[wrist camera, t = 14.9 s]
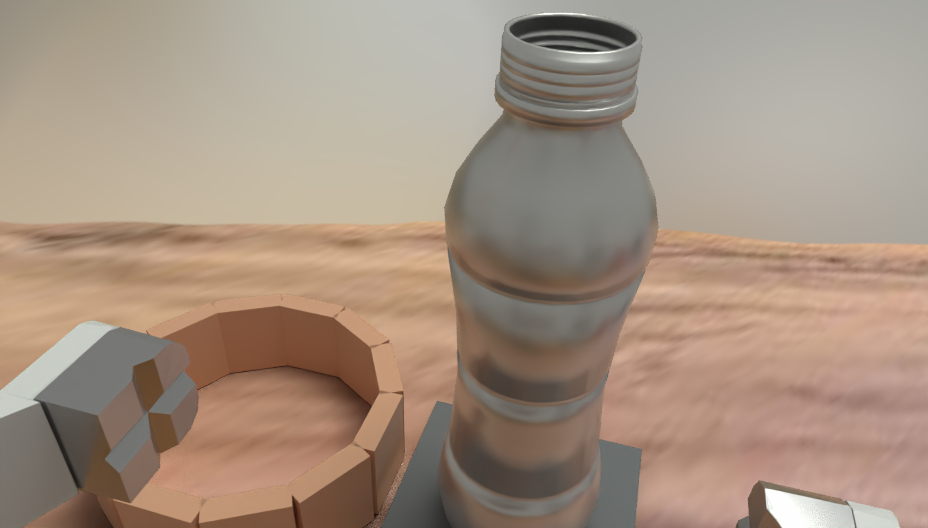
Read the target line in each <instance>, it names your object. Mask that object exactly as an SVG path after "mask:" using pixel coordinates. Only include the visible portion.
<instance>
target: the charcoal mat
mask: <svg viewBox="0 0 928 528" xmlns="http://www.w3.org/2000/svg"><path fill="white" fill-rule="evenodd" d="M452 406H453V405H452V404H448V403H444V402H439V401H437V402H436V404H435V407H434V409H433V411H432V414H431V416H430V418H429V420H428V423H427V425H426V427H425V429H424V432H423V434H422V436H421V438H420V441H419V443H418V445H417V448H416V450H415V452H414V454H413V457H412V459H411V461H410V463H409V466H408V468H407V470H406V472H405V475H404V477H403V479H402V482H401V484H400V486H399V488H398V491H397V493H396V495H395V497H394V500H393V502H392V504H391V507H390V509H389V511H388V513H387V516H386V518H385V520H384V522H383V525H382V527H381V528H452V527H451V525H450V523H449V522H448V520H447V518H446V514H445V511H444V507H443V503H442V499H441V494H440V490H439V486H438V466H439V461H440V456H441V451H442V446H443V442H444V437H445V434H446V431H447V428H448V425H449V423H450V420H451V413H452ZM599 446H600V460H601V476H600V493H599V498H598V503H597V506H596V508H595V510H594V512H593V514H592V516H591V518H590V520H589V522H588V524H587V526H586V528H634V527H635V516H636V506H637V495H638V484H639V473H640V462H641V451H642V449H639V448H635V447H630V446H626V445H622V444H618V443H613V442H609V441H605V440H601V439H599Z"/></svg>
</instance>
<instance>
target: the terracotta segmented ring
mask: <svg viewBox="0 0 928 528" xmlns="http://www.w3.org/2000/svg"><path fill="white" fill-rule="evenodd" d="M146 332H147V334H148V335H152V336H155V337H159V338H163V339H166V340H170V341H174V342H177V343H180V344H182V345H185V346H186V350H187V353H188V356H189V359H190V364H189V365H188V366H187V368H186V369H185V370H184V371H185V372H186V374H187V375H188V376H189V377H190V378H191V379H192V380H193V382H194V383H195V384H196V387H197V390H198V389H200V388H202V387H204V386H206V385H208V384H210V383H212V382H214V381H216V380H218V379H219V378H221V377H223V376H225V375H227V374H229V373H235V372H243V371H250V370H257V369H264V368H272V367H279V366H286V365H289V366H293V367H297V368H301V369H306V370H310V371H314V372H318V373H323V374H327V375H331V376H335V377H339V378H340V379H341V380H343V381H344V382H345V383H346V384H347V385H348V386H349V387H351V388H352V389H353V390H354V391H355V392H356V393H357V394H358V395H360V396H361V397H362V398H363V399H364V400H365V401H366V402H367V403H369V404H370V405H371V406H372V407H371V409H370V411H369V413H368V415H367V417H366V418H365V420H364V422H363V424H362V426H361V428H360V429H359V431H358V433H357V435H356V437H355V439H354V441H353V442H352V443H351V444H350V445H348V446H347V447H345V448H344V449H342V450H340V451H339V452H337V453H336V454H334V455H333V456H331V457H330V458H328V459H326V460H325V461H323V462H322V463H320V464H319V465H317V466H316V467H314V468H312V469H311V470H309V471H308V472H306V473H305V474H303V475H302V476H300V477H299V478H297V479H295V480H294V481H292V482H291V483H289V484H288V485H282V486H276V487H271V488H265V489H259V490H253V491H248V492H242V493H236V494H230V495H225V496H219V497H213V498H208V499H202V498H199V497H195V496H192V495H188V494H185V493H181V492H178V491H174V490H171V489H167V488H164V487H160V486H157V485H153V484H150V483H147V484H146V485H145V487H144V488H143V489H142V490H141V491H140V493H139V494H138V495H137V496H136V498H135V499H134V500H133V501H132V503H127V502H123V501H119V500H115V499H112V498H108V497H104V496H100V495H96V496H97V498H98V501H99V503H100V505H101V508H102V510H103V512H104V513H105V515H106V516H107V518H108V520H109V521H110V523H111V525H112V526H113V528H363V527H364V526H366V525H367V524H368V523H370V522H371V521H373V520H374V514H379V511H380V509H381V507H382V505H383V503H384V500H385V498H386V496H387V494H388V492H389V489H390V487H391V485H392V483H393V481H394V478H395V476H396V474H397V472H398V470H399V467H400V465H401V463H402V461H403V459H404V453H405V449H404V399H403V387H402V383H401V379H400V375H399V371H398V367H397V363H396V359H395V355H394V351H393V347H392V343H389V339H388V338H387V337H385V336H384V335H383V334H382V333H380V332H379V331H378V330H376V329H375V328H374V327H373V326H371V325H370V324H369V323H367V322H366V321H365V320H364V319H362V318H361V317H360V316H358V315H357V314H356V313H354V312H353V311H352V310H351V309H349V308H348V309H346V310H345V308H344V306H341V305H337V304H332V303H327V302H323V301H318V300H313V299H308V298H304V297H299V296H294V295H290V294H286V295H285V296H284V297H283V298H282V297H281V294H273V295H265V296H256V297H247V298H239V299H230V300H221V301H215V307H214V306H213V305H211V304H210V303H208V304H205V305H203V306H201V307H198V308H196V309H194V310H192V311H189V312H187V313H185V314H182V315H180V316H178V317H175V318H173V319H171V320H168V321H166V322H164V323H162V324H159V325H157V326H155V327H152V328H150V329H148V330H146Z"/></svg>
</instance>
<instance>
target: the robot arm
mask: <svg viewBox="0 0 928 528" xmlns="http://www.w3.org/2000/svg"><path fill="white" fill-rule="evenodd" d="M189 364H190V359H189V356H188V353H187V350H186V346H185V345H182V344H180V343H177V342H174V341H170V340H166V339H163V338H159V337H155V336H152V335H148V334H144V333H140V332H137V331H133V330H129V329H126V328H122V327H117V326H113V325H109V324H105V323H101V322H97V321H94V320H91V321H88V322H85V323H81V324H79V325H78V326H77V327H76V328H74V329H73V330H72V331H71V332H70V333H68V334H67V335H66V336H65V337H64V338H62V339H61V340H60V341H59V342H58V343H57V344H55V345H54V346H53V347H52V348H51V349H49V350H48V351H47V352H46V353H45V354H43V355H42V356H41V357H40V358H39V359H37V360H36V361H35V362H34V363H33V364H32V365H30V366H29V367H28V368H27V369H26V370H24V371H23V372H22V373H21V374H20V375H18V376H17V377H16V378H15V379H14V380H12V381H11V382H10V383H9V384H8V385H7V386H5V387H4V388H3V389H2V390H1V391H0V528H22V527H24V526H25V525H27V524H29V523H30V522H32V521H34V520H35V519H37V518H39V517H40V516H42V515H44V514H45V513H47V512H49V511H50V510H52V509H54V508H55V507H57V506H59V505H60V504H62V503H64V502H65V501H67V500H69V499H71V498H72V497H74V496H76V495H77V494H79V490H81V491H85V492H89V493H93V494H96V495H100V496H104V497H108V498H112V499H115V500H119V501H123V502H127V503H132V501H133V500H134V499H135V498H136V496H137V495H138V494H139V493H140V491H141V490H142V489H143V488H144V487H145V485H146V484H147V483H148V482H149V480H150V479H151V478H152V477H153V475H154V474H155V473H156V472H157V471H158V469H159V468H160V453H162V452H164V451H166V450H168V449H170V448H172V447H174V446H176V445H178V444H179V443H180V442H181V441H182V439H183V438H184V437H185V435H186V434H187V433H188V431H189V430H190V429H191V426H192V424H193V421H194V419H195V416H196V414H197V411H198V399H199V396H198V391H197V387H196V384H195V383H194V382H193V380H192V379H191V378H190V377H189V376H188V375H187V374H186V372H185V371H184V370H185V369H186V368H187V366H188V365H189ZM748 508H749V516H747V517H745V518H743V519H741V520H739V521H738V523H737V525H736V528H900V525H899V522H898V519H897V518H896V516H895V515H894V514H893V513H892V511H889V510H885V509H880V508H876V507H872V506H867V505H863V504H859V503H855V502H850V501H843V500H842V499H839V498H835V497H830V496H826V495H822V494H817V493H813V492H808V491H804V490H800V489H795V488H791V487H786V486H782V485H778V484H773V483H769V482H764V481H760V480H759V481H758V482H757V483H756V484H755V485H754V487H753V489H752V491H751V493H750V495H749V497H748Z"/></svg>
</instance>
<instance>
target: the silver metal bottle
mask: <svg viewBox="0 0 928 528" xmlns="http://www.w3.org/2000/svg"><path fill="white" fill-rule="evenodd" d="M641 42H642V36H641V33H640V32H639V31H638V30H636V29H635V28H633V27H632V26H630V25H627V24H625V23H623V22H619V21H617V20H613V19H609V18H605V17H601V16H595V15H588V14H580V13H566V12H565V13H564V12H551V13H536V14H530V15H524V16H520V17H517V18H514V19H512V20H510V21H509V22H508V23H506V24H505V27H504V32H503V35H502V48H501V61H500V72H499V74H498V75H497V77H496V80H495V99H496V101H497V103H498V104H499V105H500V106H501V107H502V108H503V109H504V111H503V114H502V115H501V117H500V118H499V119H498V120H497V121H496V122H495V123H494V125H493V126H492V127H491V128H490V129H489V130H488V131H487V132H486V133H485V134H484V136H483V137H482V138H481V139H480V140H479V141H478V143H477V144H476V145H475V147H474V148H473V149H472V151H471V152H470V154H469V155H468V156H467V158H466V159H465V161H464V162H463V163H462V165H461V166H460V168H459V169H458V170H457V172H456V174H455V177H454V180H453V183H452V186H451V189H450V192H449V195H448V198H447V201H446V204H445V207H444V208H445V227H446V243H447V246H448V257H449V264H450V271H451V278H452V285H453V292H454V299H455V307H456V325H457V348H458V349H457V362H458V372H457V379H456V386H455V393H454V400H453V406H452V413H451V420H450V423H449V425H448V428H447V431H446V434H445V437H444V442H443V446H442V451H441V456H440V461H439V466H438V486H439V490H440V494H441V499H442V503H443V507H444V511H445V514H446V518H447V520H448V522H449V523H450V525H451V527H452V528H586V526H587V524H588V522H589V520H590V518H591V516H592V514H593V512H594V510H595V508H596V506H597V503H598V498H599V493H600V476H601V460H600V446H599V436H600V425H601V415H602V405H603V394H604V388H605V384H606V381H607V377H608V373H609V369H610V366H611V363H612V359H613V356H614V352H615V348H616V345H617V341H618V338H619V334H620V331H621V329H622V326H623V324H624V322H625V319H626V317H627V314H628V312H629V309H630V307H631V304H632V302H633V300H634V297H635V295H636V292H637V290H638V287H639V285H640V283H641V280H642V278H643V275H644V273H645V269H646V267H647V265H648V263H649V260H650V257H651V254H652V250H653V247H654V244H655V241H656V238H657V233H658V218H657V207H656V199H655V193H654V189H653V187H652V184H651V182H650V180H649V177H648V175H647V173H646V170H645V168H644V166H643V163H642V161H641V159H640V157H639V155H638V153H637V152H636V150H635V148H634V147H633V145H632V143H631V141H630V139H629V138H628V136H627V134H626V132H625V130H624V129H623V127H622V120H623V119H625V118H627V117H628V116H630V115H631V114H632V113H633V112H634V109H635V105H636V100H637V94H638V89H637V86H636V78H637V72H638V67H639V61H640V56H641V51H642V43H641Z"/></svg>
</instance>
